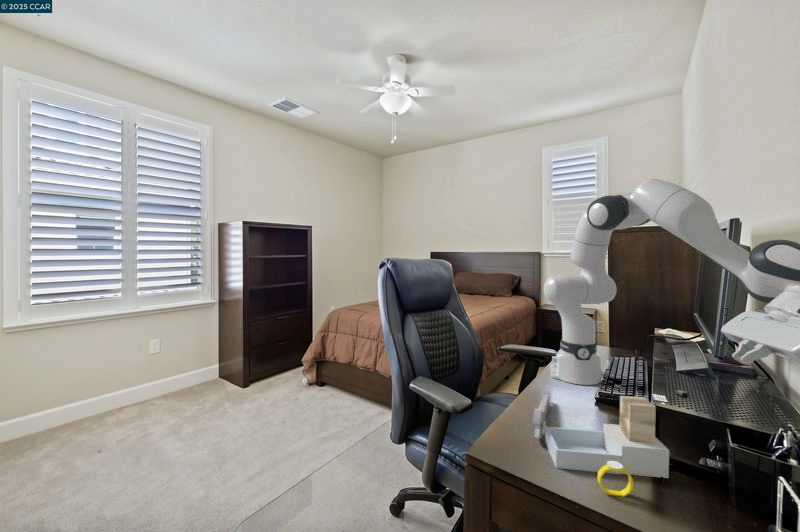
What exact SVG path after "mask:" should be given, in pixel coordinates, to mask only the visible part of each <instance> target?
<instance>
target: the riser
mask: <svg viewBox="0 0 800 532" xmlns="http://www.w3.org/2000/svg"><path fill="white" fill-rule="evenodd" d="M619 426H620V424H614V423H613V424H612V423H603V431H602V432H603V447H604V449H605V450H606V451H607V453H610V454H620V455H621V464H622V465H623V467H624V468H625V469H626V470H627V471H628V472H629V474H630V475H631V476H633V475H634V476H640V477H641V476H644V477H650V478H651V477H653V478H654V477H655V478H661V477H663V479H669V476H670V475H669V472H670V469H669V468H670V449H668V447H667V446H665V444H664V443H663V442H661V441H660V440H659V439H658V438H657V436H655V443H648V442H636V441H629V440H628V439H627V438H626V437H625V435H624V434H623V433H622V432H621V431H620V430H619ZM622 474H624V475H627V474H626V473H625V472H623V471H622V472H621V474H620V475H622Z"/></svg>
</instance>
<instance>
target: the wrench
mask: <svg viewBox="0 0 800 532" xmlns="http://www.w3.org/2000/svg"><path fill="white" fill-rule="evenodd" d="M549 405H550V395H549V394H543V395H542V398H541V401H540V404H539V406H538V408H536V407H535V408H534V409H533V416H532V417H533V418H532V425H534V434H533V435H534V437H533V438H534V439H536V440H540V439H543V430H544V422H545V419H546V416H547V413H548V409H549Z"/></svg>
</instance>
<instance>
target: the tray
mask: <svg viewBox="0 0 800 532" xmlns="http://www.w3.org/2000/svg"><path fill="white" fill-rule="evenodd" d="M544 436H545V437H544V443H545V445H546V447H547V450H548V452H549V456H550V458H551V460H552V462H553V464H554V466H555V469H565V470H574V471H583V472H591V473H592V472H593V473H598V471H599V470H600V469H601V467H603V466H605V465H607V462H608V461H616V462H619V463H621V455H620V454H610V453H607V451H606V450H605V449H604V447H603V431H602V430H596V429H595V430H593V429H580V428H570V427H555V426H544ZM605 474H614V475H622V474H621V472H614V471H612V470H609V471H607V472H605Z"/></svg>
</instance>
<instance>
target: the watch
mask: <svg viewBox="0 0 800 532" xmlns="http://www.w3.org/2000/svg"><path fill="white" fill-rule="evenodd" d="M609 470H612V471H614V472H622V471H623V472H625V473H626V474H625V475H627V476H628V478H627V479H628V483H627V485H626V486H625V488H624V489H622V490H614V489H608V488H606V487H605V486H604V485H603V484H602V482H603V481H602V480H603V476H604V475H605V474H606V473H605V472H607V471H609ZM596 480H597V482H598V485H599V486H600V487H599V488H600V489H601V490H602V491H603V492H604V493H605V494H606V495H607V496H615V497H616V496H617V497H622V498H625V497H627V496H628V495H630V494H631V493H632V491H633V489H634V488H635V487H634V479H633V477H632V475H631V474H629V472H628V471H627V470H626V469H625V468H624V467H623V465H622V464H621V463H619V462H616V461H608V462H607V465H605V466H603V467H601V469H600V470H599V471H598V472H597V478H596Z"/></svg>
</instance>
